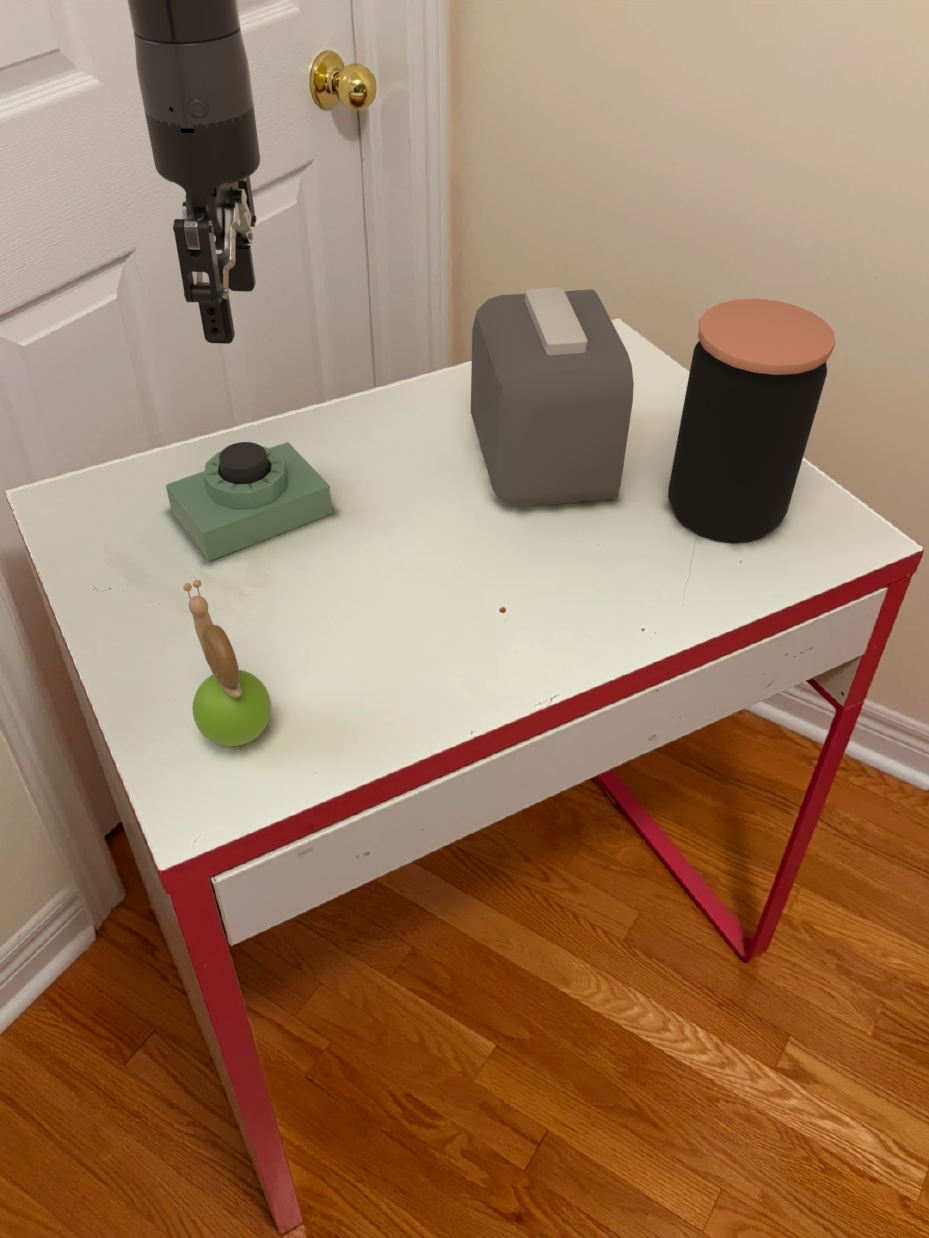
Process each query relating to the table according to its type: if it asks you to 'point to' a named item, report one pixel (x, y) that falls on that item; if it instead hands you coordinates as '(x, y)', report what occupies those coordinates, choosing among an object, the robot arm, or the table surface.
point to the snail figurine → (225, 686)
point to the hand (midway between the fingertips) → (231, 314)
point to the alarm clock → (550, 396)
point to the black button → (243, 463)
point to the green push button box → (249, 503)
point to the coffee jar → (747, 417)
